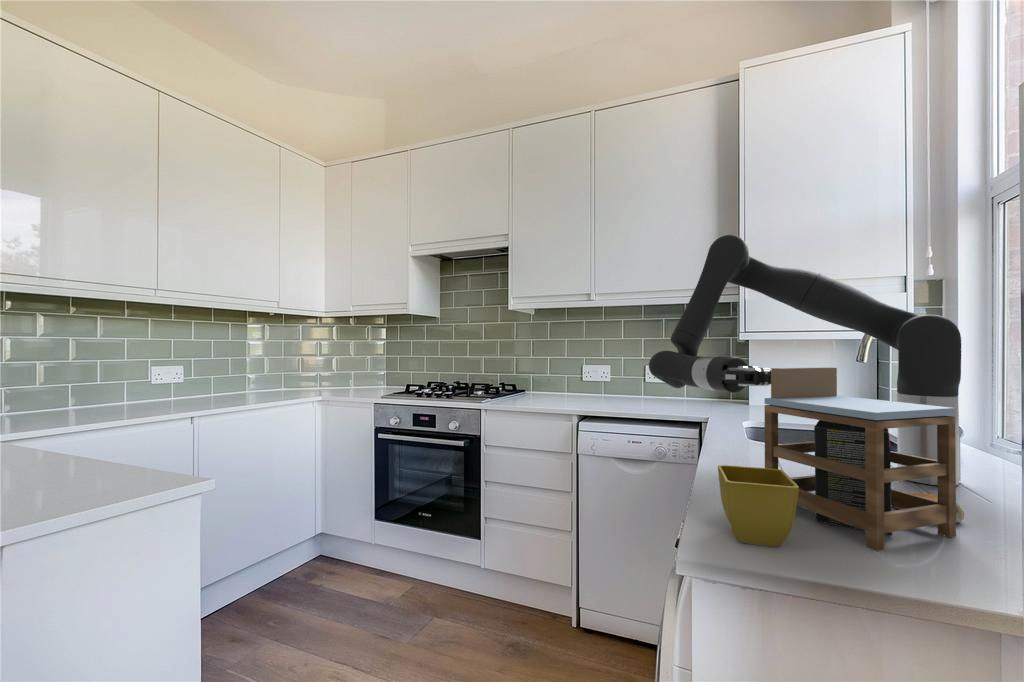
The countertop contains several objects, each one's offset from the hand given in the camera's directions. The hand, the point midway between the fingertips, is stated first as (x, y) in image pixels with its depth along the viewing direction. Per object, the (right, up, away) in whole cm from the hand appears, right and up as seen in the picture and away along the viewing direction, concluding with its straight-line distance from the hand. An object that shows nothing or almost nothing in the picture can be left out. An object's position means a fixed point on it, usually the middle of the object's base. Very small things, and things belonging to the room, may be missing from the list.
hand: (791, 379), depth 82 cm
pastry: (+16, -21, -8) cm, 28 cm away
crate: (+3, -21, -10) cm, 24 cm away
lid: (+3, -4, -10) cm, 11 cm away
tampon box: (+3, -21, -10) cm, 24 cm away
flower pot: (-16, -21, -17) cm, 31 cm away
